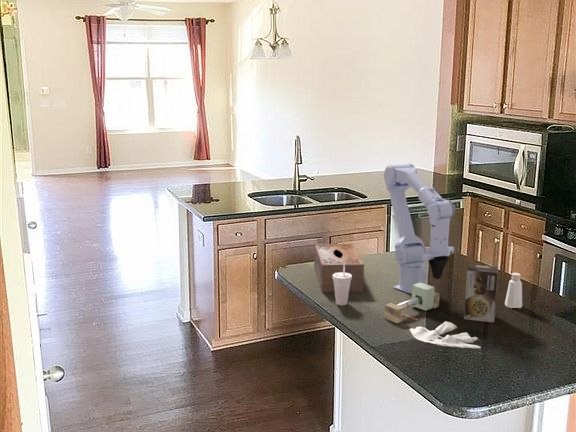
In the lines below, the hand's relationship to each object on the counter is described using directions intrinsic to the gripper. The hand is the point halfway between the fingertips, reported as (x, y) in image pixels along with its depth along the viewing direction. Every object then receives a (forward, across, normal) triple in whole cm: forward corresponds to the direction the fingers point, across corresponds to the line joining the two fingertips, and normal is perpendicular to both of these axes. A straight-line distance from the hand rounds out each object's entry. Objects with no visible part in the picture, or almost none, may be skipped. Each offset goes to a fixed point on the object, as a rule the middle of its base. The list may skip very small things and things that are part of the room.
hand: (436, 278), depth 198 cm
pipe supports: (+9, -12, 0) cm, 15 cm away
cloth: (+10, -18, -18) cm, 27 cm away
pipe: (+6, -12, 0) cm, 14 cm away
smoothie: (+9, -24, +20) cm, 32 cm away
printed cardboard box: (+9, 0, -16) cm, 18 cm away
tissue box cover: (+9, -8, +38) cm, 39 cm away
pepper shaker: (+9, +18, -18) cm, 27 cm away
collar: (+9, -7, 0) cm, 11 cm away
